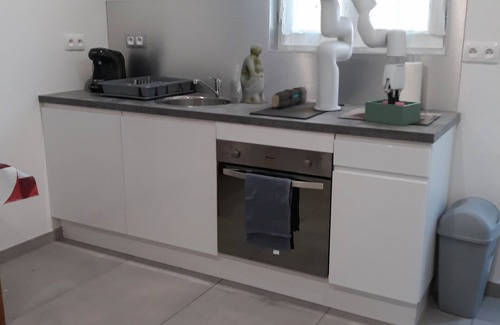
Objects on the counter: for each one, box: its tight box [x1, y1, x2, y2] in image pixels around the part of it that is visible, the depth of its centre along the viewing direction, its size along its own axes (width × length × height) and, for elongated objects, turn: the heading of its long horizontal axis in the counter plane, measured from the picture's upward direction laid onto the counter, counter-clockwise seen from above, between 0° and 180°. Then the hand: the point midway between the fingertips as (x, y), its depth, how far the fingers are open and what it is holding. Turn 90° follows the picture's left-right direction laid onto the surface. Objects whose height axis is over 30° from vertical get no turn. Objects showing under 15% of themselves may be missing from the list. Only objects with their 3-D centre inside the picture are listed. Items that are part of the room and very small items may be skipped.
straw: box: [382, 101, 405, 106], centre depth 215 cm, size 10×2×2 cm, turn 44°
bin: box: [364, 98, 422, 127], centre depth 215 cm, size 18×14×8 cm
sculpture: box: [239, 42, 266, 105], centre depth 271 cm, size 11×14×30 cm
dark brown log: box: [271, 86, 308, 109], centre depth 258 cm, size 11×7×30 cm
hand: (393, 106), depth 215 cm, fingers closed on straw, 2 cm apart
